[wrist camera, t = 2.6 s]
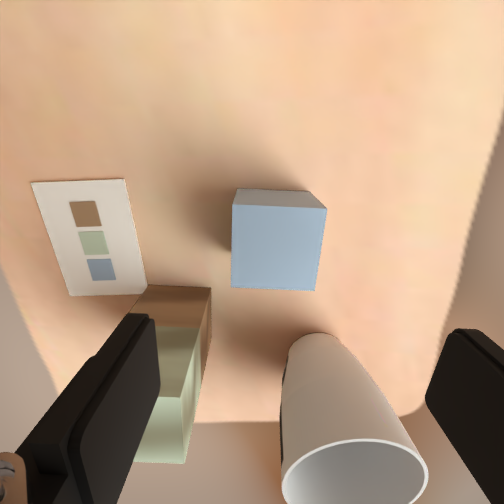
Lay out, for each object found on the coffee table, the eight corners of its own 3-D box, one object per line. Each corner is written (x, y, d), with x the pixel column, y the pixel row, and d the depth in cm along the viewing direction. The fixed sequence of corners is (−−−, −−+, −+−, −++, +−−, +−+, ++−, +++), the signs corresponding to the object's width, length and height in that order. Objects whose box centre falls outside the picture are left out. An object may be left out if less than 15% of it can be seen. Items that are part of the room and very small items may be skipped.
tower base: (148, 284, 22) (71, 392, 13) (211, 287, 22) (180, 397, 13) (154, 334, 24) (90, 459, 15) (211, 337, 24) (184, 463, 15)
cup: (255, 339, 24) (257, 467, 15) (343, 303, 22) (406, 420, 13) (293, 398, 27) (314, 535, 17) (374, 369, 25) (443, 504, 16)
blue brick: (237, 188, 19) (232, 204, 14) (309, 191, 19) (327, 208, 14) (235, 254, 21) (230, 287, 16) (301, 257, 21) (314, 290, 16)
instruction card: (32, 182, 19) (29, 183, 18) (124, 178, 19) (122, 179, 18) (71, 295, 22) (69, 296, 22) (149, 292, 22) (147, 294, 22)
